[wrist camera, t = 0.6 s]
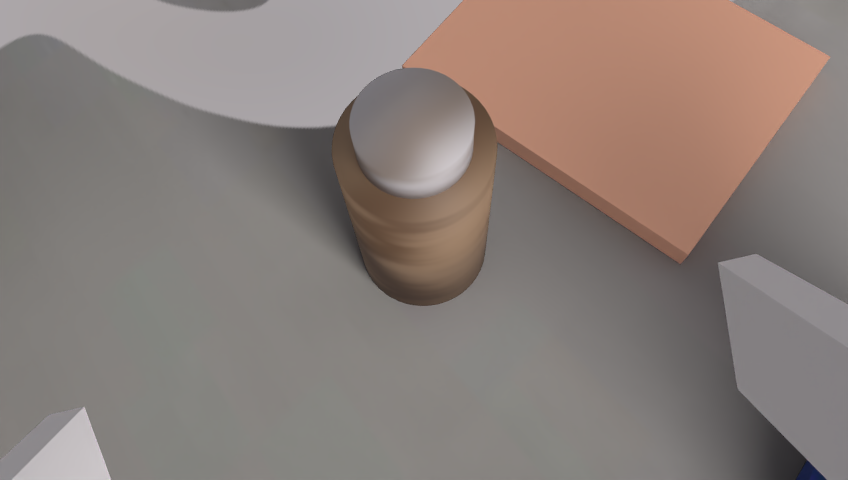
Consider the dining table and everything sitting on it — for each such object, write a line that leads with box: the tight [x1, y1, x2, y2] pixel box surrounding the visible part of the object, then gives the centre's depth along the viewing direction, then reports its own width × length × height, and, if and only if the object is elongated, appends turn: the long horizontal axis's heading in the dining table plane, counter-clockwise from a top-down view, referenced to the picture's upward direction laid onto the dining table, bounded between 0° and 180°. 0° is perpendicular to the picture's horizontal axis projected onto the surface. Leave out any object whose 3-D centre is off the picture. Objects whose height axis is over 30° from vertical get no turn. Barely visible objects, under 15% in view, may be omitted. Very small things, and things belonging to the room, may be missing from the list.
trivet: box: [402, 0, 830, 264], centre depth 46 cm, size 20×16×2 cm
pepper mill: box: [332, 68, 497, 306], centre depth 36 cm, size 7×7×14 cm
